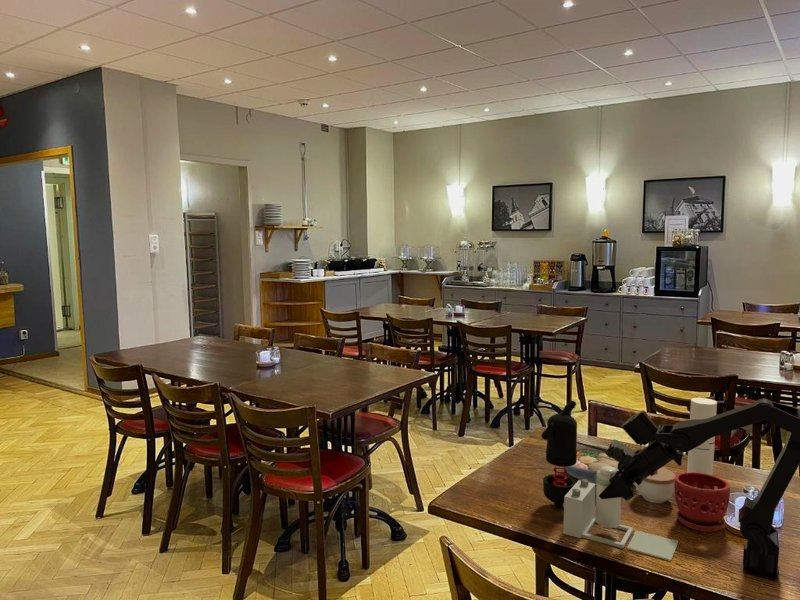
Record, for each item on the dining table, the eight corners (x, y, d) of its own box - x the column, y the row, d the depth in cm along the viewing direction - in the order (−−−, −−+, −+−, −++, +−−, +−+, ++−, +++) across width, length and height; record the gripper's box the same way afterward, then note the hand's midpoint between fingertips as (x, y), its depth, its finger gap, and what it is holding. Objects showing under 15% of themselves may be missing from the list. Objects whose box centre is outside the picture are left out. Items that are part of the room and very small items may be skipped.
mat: (678, 542, 151) (678, 541, 151) (671, 561, 143) (671, 559, 143) (636, 531, 156) (636, 530, 156) (626, 549, 148) (626, 547, 148)
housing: (634, 529, 158) (635, 488, 156) (622, 550, 148) (624, 506, 146) (577, 514, 166) (578, 475, 164) (563, 533, 156) (564, 491, 155)
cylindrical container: (717, 481, 187) (722, 402, 184) (700, 485, 184) (704, 405, 181) (698, 472, 193) (702, 396, 190) (681, 476, 191) (685, 399, 188)
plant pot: (738, 527, 159) (741, 483, 157) (707, 540, 152) (709, 494, 151) (692, 507, 170) (695, 466, 168) (661, 518, 163) (664, 476, 162)
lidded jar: (628, 498, 176) (629, 467, 174) (644, 487, 183) (645, 457, 182) (665, 510, 168) (667, 478, 167) (680, 498, 175) (682, 467, 174)
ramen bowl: (537, 477, 191) (537, 452, 190) (577, 458, 206) (578, 435, 205) (610, 503, 172) (611, 476, 171) (648, 481, 188) (649, 455, 187)
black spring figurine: (558, 495, 178) (560, 396, 174) (584, 506, 171) (587, 403, 167) (527, 508, 170) (529, 404, 166) (553, 520, 163) (556, 412, 159)
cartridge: (623, 520, 156) (625, 468, 154) (617, 530, 151) (619, 476, 149) (598, 514, 160) (600, 463, 158) (592, 523, 154) (593, 471, 153)
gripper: (633, 422, 158) (589, 455, 165) (619, 444, 142) (571, 479, 149) (665, 456, 155) (618, 488, 162) (654, 483, 139) (603, 517, 146)
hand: (603, 492), depth 155 cm, fingers closed on cartridge, 6 cm apart
